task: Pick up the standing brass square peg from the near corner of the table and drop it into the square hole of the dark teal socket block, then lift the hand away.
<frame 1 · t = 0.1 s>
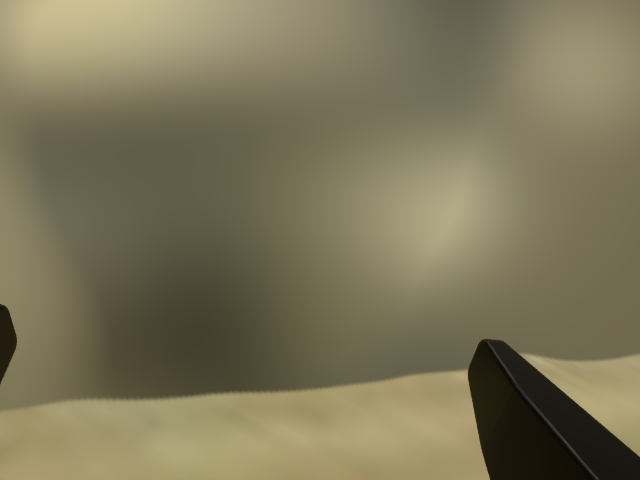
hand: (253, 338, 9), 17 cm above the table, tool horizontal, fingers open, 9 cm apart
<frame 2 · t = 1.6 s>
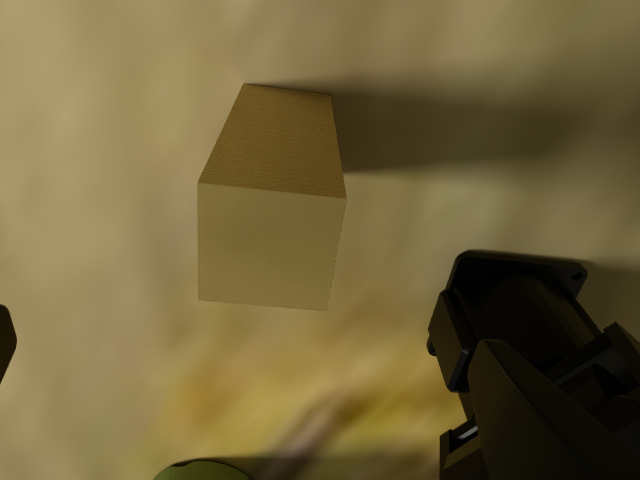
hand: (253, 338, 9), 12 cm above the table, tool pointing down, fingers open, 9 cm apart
peg: (283, 131, 19), on the table
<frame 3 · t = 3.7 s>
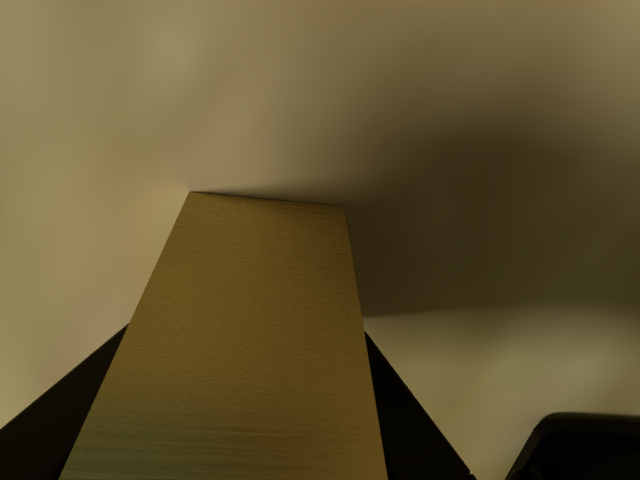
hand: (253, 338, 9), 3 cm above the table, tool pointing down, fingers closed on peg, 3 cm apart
peg: (263, 262, 11), on the table, touching gripper
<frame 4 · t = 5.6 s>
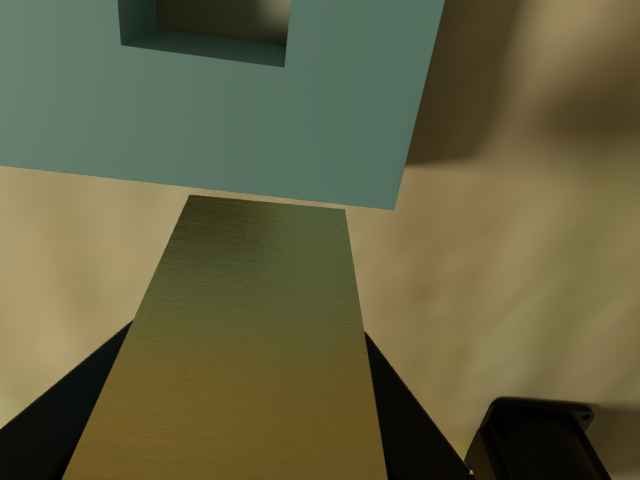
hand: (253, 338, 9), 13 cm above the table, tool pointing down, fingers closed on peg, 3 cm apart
peg: (263, 265, 11), point 10 cm above the table, touching gripper
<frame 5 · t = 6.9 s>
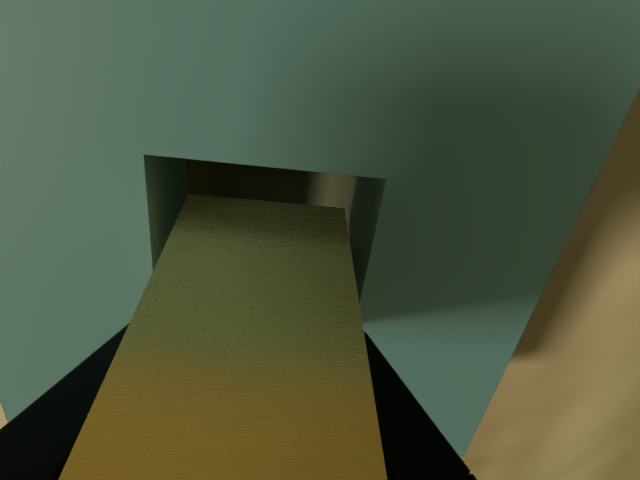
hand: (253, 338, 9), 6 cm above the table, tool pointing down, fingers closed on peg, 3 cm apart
socket block: (270, 189, 14), on the table
peg: (262, 264, 11), point 4 cm above the table, touching gripper
when the fingers open (4 cm above the table, at t = 7.9 s): peg drops 2 cm, resting in socket block.
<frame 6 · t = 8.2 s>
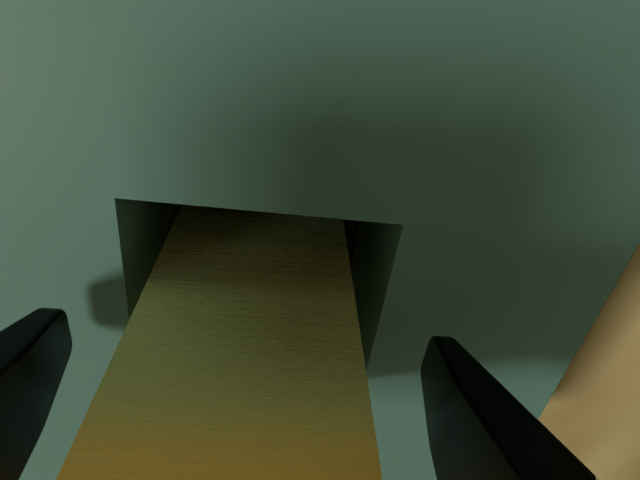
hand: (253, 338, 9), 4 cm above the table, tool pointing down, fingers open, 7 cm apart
socket block: (267, 220, 13), on the table
peg: (267, 222, 13), resting in socket block
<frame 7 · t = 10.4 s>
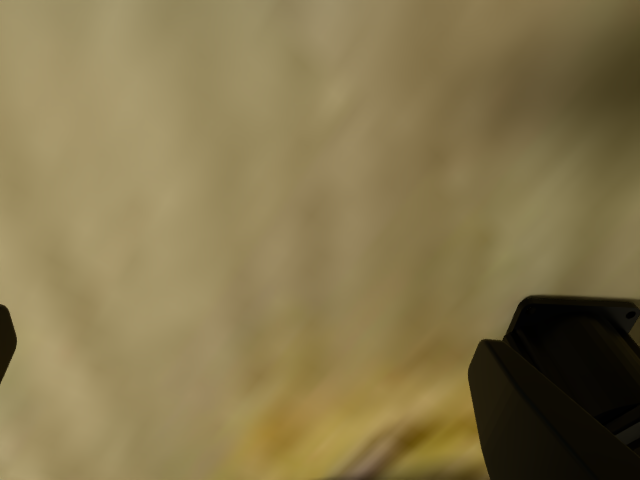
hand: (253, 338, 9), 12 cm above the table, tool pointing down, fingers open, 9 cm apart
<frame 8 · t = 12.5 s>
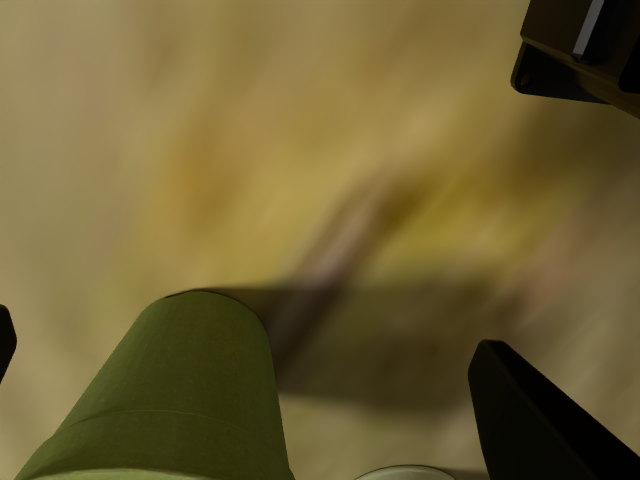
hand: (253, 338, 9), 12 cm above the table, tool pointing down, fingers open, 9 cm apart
plant pot: (205, 336, 25), on the table
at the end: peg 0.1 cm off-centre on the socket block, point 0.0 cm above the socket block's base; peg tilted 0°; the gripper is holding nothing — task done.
